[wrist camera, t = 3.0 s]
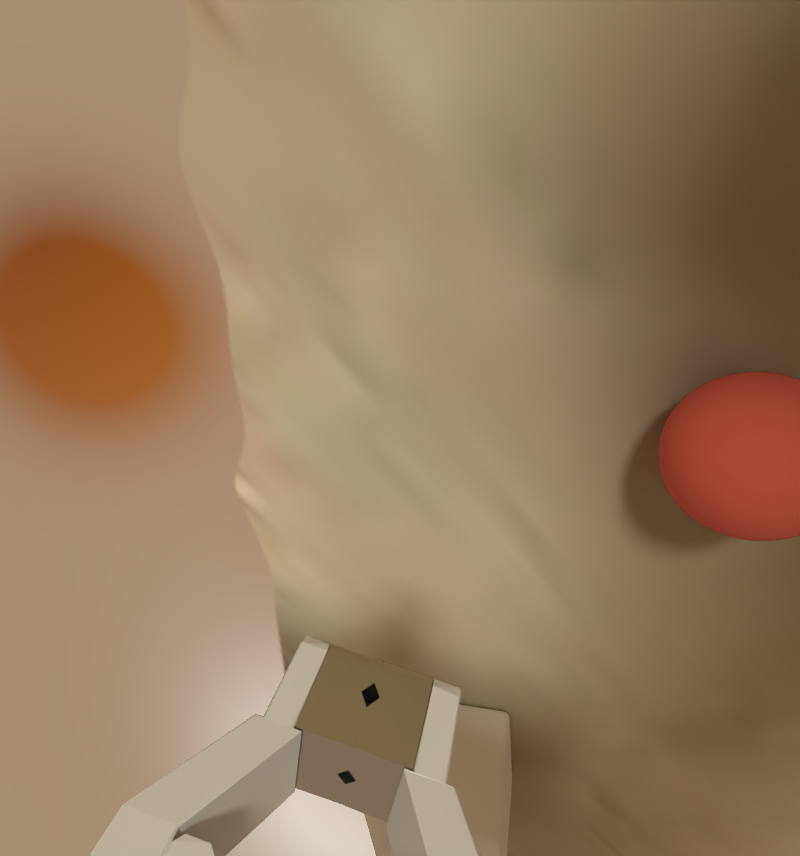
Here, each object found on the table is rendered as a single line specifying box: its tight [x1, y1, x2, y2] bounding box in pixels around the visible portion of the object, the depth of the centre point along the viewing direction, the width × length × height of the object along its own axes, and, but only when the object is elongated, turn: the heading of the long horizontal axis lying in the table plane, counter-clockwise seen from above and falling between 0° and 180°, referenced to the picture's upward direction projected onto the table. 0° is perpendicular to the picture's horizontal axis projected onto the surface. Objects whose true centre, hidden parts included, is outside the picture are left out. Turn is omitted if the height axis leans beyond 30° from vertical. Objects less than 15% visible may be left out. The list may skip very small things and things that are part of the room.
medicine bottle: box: [365, 704, 512, 856], centre depth 29 cm, size 7×7×12 cm
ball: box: [658, 372, 800, 541], centre depth 18 cm, size 6×6×6 cm
